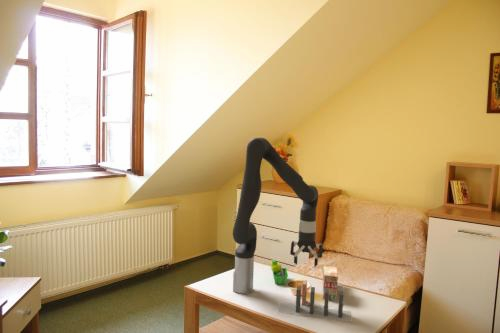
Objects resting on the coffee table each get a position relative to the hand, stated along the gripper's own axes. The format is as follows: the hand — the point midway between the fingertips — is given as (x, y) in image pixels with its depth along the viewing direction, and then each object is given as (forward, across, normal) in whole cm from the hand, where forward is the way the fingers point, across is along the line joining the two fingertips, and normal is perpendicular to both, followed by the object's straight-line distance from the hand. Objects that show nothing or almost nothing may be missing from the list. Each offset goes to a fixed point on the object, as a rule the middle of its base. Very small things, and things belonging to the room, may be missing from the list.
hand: (305, 265), depth 177 cm
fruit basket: (+18, -15, +24) cm, 33 cm away
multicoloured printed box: (+18, +11, +17) cm, 27 cm away
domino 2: (+18, 0, 0) cm, 18 cm away
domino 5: (+18, +16, -8) cm, 25 cm away
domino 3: (+18, +4, -8) cm, 20 cm away
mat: (+18, +5, -8) cm, 20 cm away
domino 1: (+18, -2, -8) cm, 20 cm away
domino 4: (+18, +10, -8) cm, 22 cm away
